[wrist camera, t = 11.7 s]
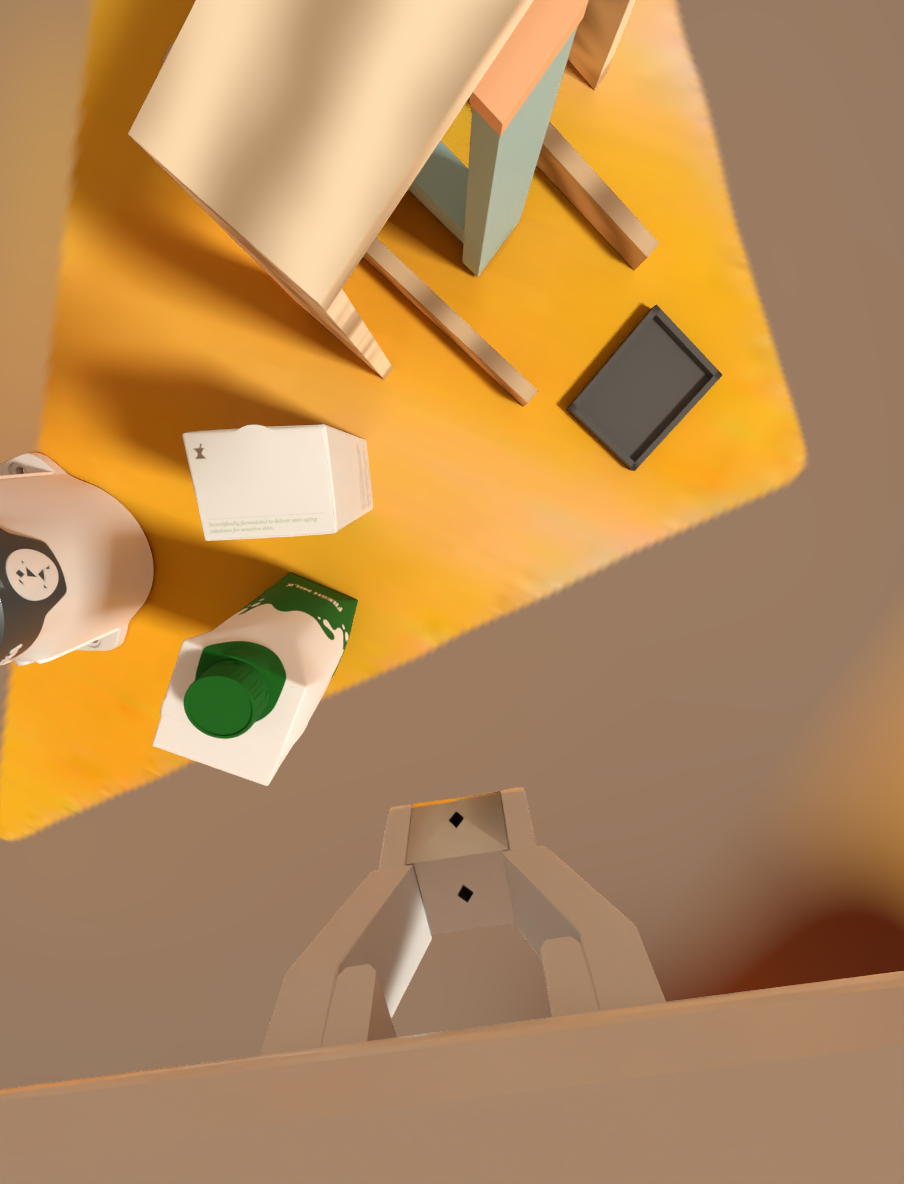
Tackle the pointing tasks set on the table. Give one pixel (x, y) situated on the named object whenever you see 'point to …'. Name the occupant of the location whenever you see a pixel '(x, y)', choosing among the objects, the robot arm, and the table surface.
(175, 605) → the table surface
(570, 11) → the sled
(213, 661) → the milk carton
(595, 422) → the tray
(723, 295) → the table surface
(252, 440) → the skincare box
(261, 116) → the tunnel
